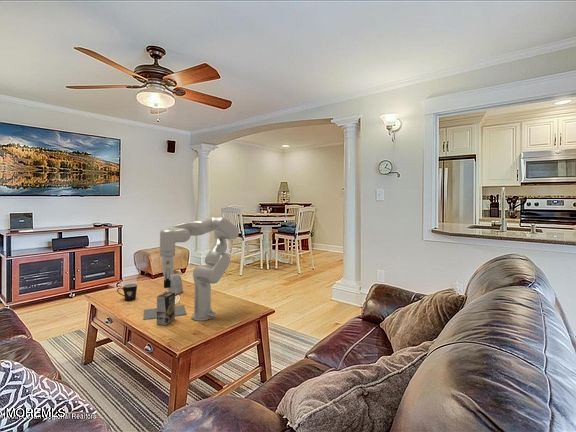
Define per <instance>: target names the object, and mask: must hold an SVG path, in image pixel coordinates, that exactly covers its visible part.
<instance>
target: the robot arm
mask: <svg viewBox="0 0 576 432" xmlns="http://www.w3.org/2000/svg"><path fill="white" fill-rule="evenodd" d="M213 231H214V233H213V234H214V244H213V246H212V247H211V248H210V250H209V251H208V253H207V254H206V255H205V257H204V263H205V264H199V265H198V264H197V265H196V266H195V267H194V268H193V272H192V278H193V283H194V308H193V310H194V313H192V315H191V319H192V320H194V321H199V322H201V321H203V322H204V321H208V319H209V320H211V319H212V318H215V317H216V314H217V312H215V311H213V308H211V307H212V305H211V304H212V300H211V299H212V285H213V284H214V285H215V284H217V283H219V282H220V280H221V279H222V277H223V276H224V274H225V272H226V271H227V269H228V268H229V266H230V263H231V258H230V255H229V254H228V253H226V251H227V249H228V243H227V240H230V241H231V240H232V241H233V240H236V239H237V238H238V237H239V234H240V232H239V228H238V227H237V226H236V225H235V224H234V223H232V222H231V221H230V220H229V219H227V218H225V217H224V216H209V217H206V218H203V219H200V220H196V221H190V222H185V223H179V224H176V225H173V226H170V227H169V228H164V229H161V230H160V232H159V257H161V261H162V262H161V263H162V264H161V267H162V275H163V276H164V278H163V279H164V280H163V288H164V289H169V288H170V287H171V280H170V274H171V275H173V274H174V257H175V256H176V243H186V242H188V241H189V240H190V239H191V236H193V237H194V236H202V235H205V234H207V233H210V232H213ZM211 284H212V285H211Z"/></svg>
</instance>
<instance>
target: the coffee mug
mask: <svg viewBox="0 0 576 432" xmlns="http://www.w3.org/2000/svg"><path fill="white" fill-rule="evenodd" d="M122 286H123V287H118V288H117V289H116V292H117V293H118V294H119V295H120V296H123V297H124V301H125V302H133V301H136V299H137V291H138V289H137V288H138V283H127V284H123V285H122ZM120 289H122V291H123V294H122V293H120V292H119V290H120Z"/></svg>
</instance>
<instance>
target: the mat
mask: <svg viewBox="0 0 576 432" xmlns="http://www.w3.org/2000/svg"><path fill="white" fill-rule="evenodd" d="M187 315H188V314H187V310H186V307H185V305H184V304H183V305H175V317H179V316H187ZM155 319H156V320H157V307H155V308H145V309H143V321H146V320H155Z"/></svg>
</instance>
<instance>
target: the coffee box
mask: <svg viewBox="0 0 576 432" xmlns="http://www.w3.org/2000/svg"><path fill="white" fill-rule="evenodd" d="M175 306H176V295H175V293H173V292H169V291H165V292H163V293H161V294H159V295H157V296H156V308H157V318H156V325H163V326H168V324H170V323H171V322H173V321H174V320H175V319H176V316H175Z"/></svg>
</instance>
